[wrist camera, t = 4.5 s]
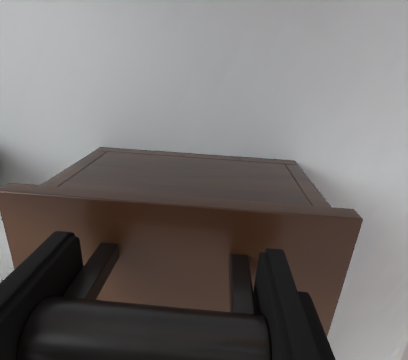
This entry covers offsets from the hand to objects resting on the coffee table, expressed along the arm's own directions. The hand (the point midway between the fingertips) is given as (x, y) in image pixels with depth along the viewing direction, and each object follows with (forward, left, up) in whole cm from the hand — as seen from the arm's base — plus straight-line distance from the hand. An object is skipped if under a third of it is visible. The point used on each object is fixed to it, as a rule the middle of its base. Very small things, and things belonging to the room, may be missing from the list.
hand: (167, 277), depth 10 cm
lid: (+5, +2, -2) cm, 6 cm away
